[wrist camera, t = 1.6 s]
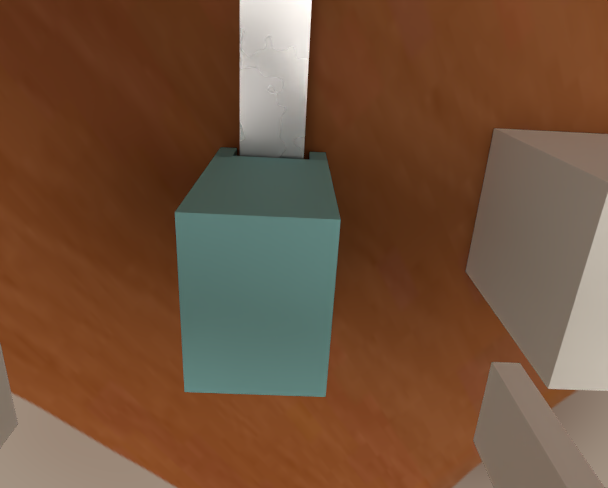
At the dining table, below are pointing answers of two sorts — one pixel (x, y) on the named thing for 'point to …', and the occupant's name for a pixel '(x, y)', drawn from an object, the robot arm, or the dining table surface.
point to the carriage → (258, 275)
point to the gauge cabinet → (547, 251)
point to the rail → (274, 77)
